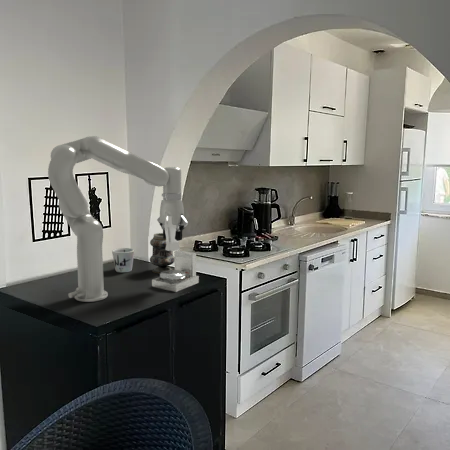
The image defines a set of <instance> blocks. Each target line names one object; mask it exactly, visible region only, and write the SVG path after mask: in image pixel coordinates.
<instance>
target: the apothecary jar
mask: <svg viewBox="0 0 450 450" xmlns="http://www.w3.org/2000/svg"><path fill="white" fill-rule="evenodd" d="M149 245H150V246H152V255H151V256H150V257H149V262H150V263H151V264H152V265H153V266H157V267H155V268H153V269H152V270H151V271H152V273H154V274H160V273H161V272H163V271H167V270H174V269H173V268H171V267H170V266H171V265H173V264H175V261H174V253H173V252H174V251H167V250H166V239H163V232H157V233H154V234H153V237H152V238H151V239H150V242H149ZM168 266H169V267H168Z"/></svg>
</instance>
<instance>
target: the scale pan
mask: <svg viewBox="0 0 450 450" xmlns="http://www.w3.org/2000/svg"><path fill="white" fill-rule="evenodd" d="M185 276H186V273H185V272H184V271H183V270H181V271H180V270H175V269H173V270H167V271H163V272H161V273H159V277H161V278H163V279H168V280H176V279H182V278H184V277H185Z"/></svg>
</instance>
